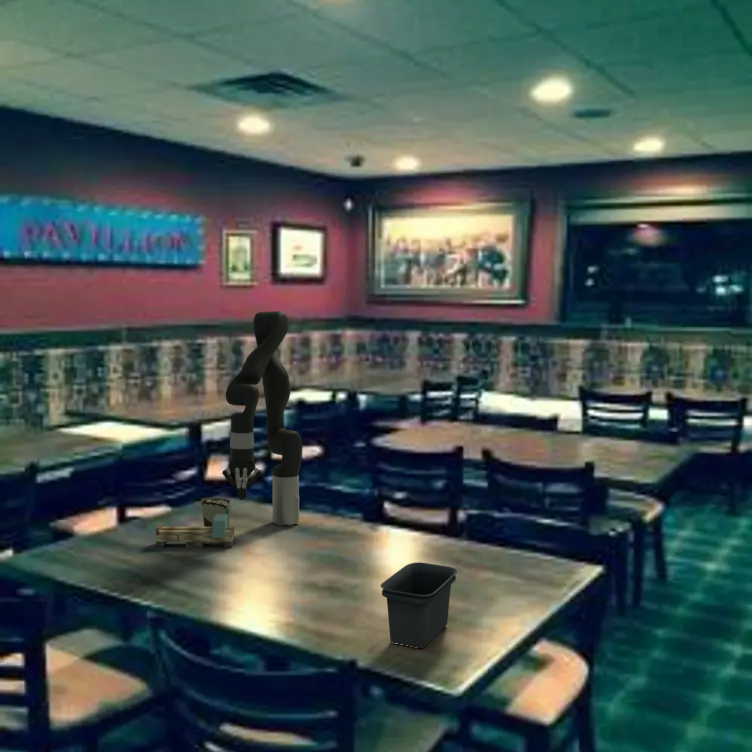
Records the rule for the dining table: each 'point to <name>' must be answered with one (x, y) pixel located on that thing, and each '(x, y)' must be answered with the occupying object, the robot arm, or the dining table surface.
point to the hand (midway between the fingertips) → (241, 499)
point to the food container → (214, 509)
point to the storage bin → (418, 602)
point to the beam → (191, 536)
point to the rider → (220, 525)
